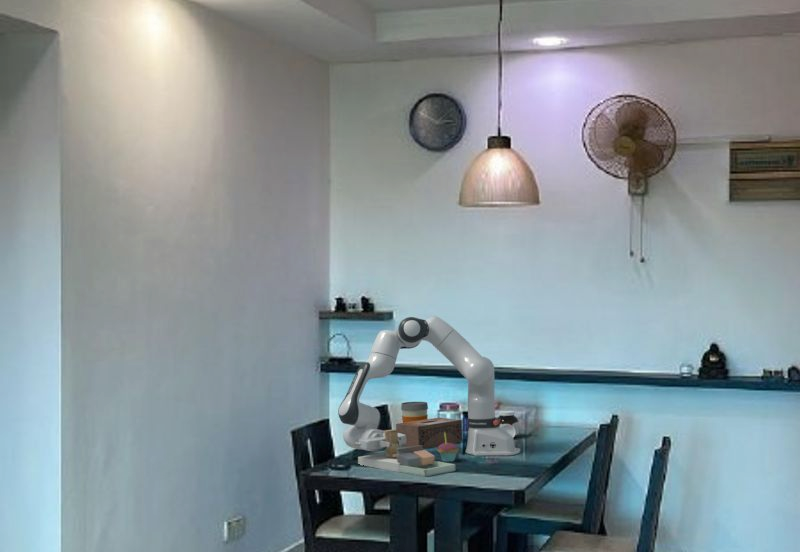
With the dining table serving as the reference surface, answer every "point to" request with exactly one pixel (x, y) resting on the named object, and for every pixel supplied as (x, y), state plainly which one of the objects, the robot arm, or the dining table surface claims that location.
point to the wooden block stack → (394, 450)
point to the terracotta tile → (425, 457)
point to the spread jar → (509, 422)
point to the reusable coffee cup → (414, 411)
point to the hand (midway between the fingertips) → (395, 443)
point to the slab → (380, 461)
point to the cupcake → (447, 451)
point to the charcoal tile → (408, 459)
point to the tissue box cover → (430, 432)
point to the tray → (428, 469)
